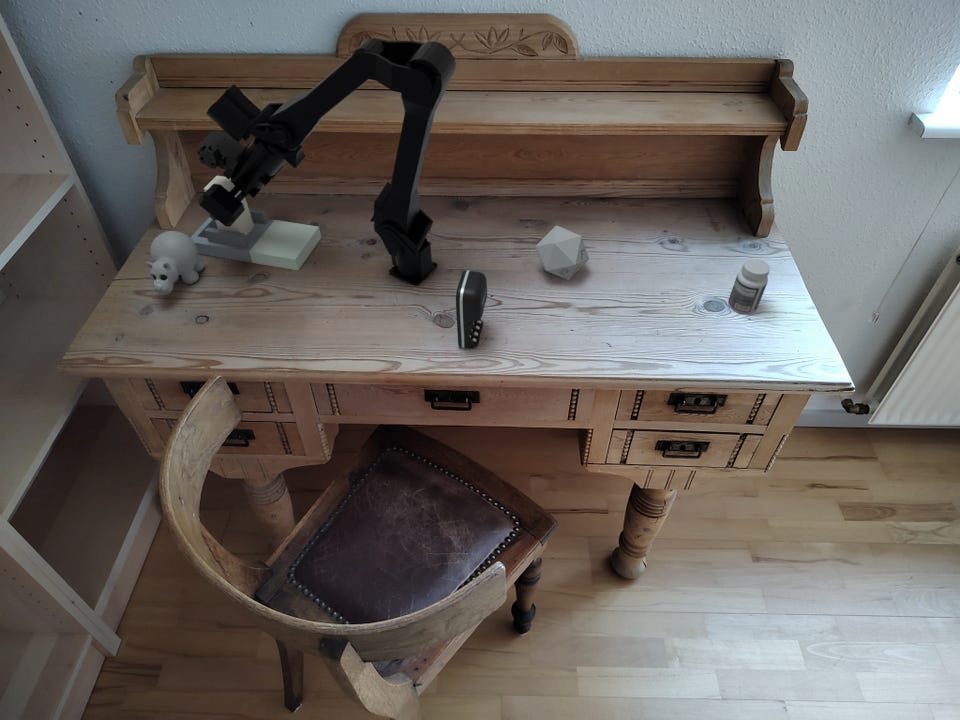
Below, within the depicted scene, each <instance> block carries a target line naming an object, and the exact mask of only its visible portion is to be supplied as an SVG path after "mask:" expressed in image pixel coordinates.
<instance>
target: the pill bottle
mask: <svg viewBox="0 0 960 720" xmlns="http://www.w3.org/2000/svg"><path fill="white" fill-rule="evenodd" d="M770 271H771V267H770V265H769V263H767V261H764V260H763V259H759V258H752V257H751V258H748V259H746V260H744V262H743V264H742V267H741V268H740V270H739V271H738V272H737V275H736V278H735V280H734V284H733V286H732V288H731V292H730V295H729V297H728V301H727V302H728V305H729V308H731V309H732V310H733V311H734V312H736V313H739V314H743V315H747V314H752V313H754V312H755V313H756V311H757V309H758V307H759V304H761V303H760V302H761V300H762V298H763V295H764V292H765V289H766V287H767V285H768V281H769V279H768V275H769V273H770Z"/></svg>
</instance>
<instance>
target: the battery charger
mask: <svg viewBox="0 0 960 720" xmlns="http://www.w3.org/2000/svg"><path fill="white" fill-rule="evenodd" d="M460 276H461V277H460V279H459V282H458V285H457V289H456V294H455V313H456V314H455V315H456V328H457V329H456V330H457V345H458V348H462V349H474V348H477V347H478V346H479V343H480V339H481V335H482V332H483V328H484V320H482V317H483V313H484V310H485V306H486V303H487V299H488V282H487V277H486V275H485V274H484V273H483V272H481V271H474V270H470V269H466V270H463V271H462V273H461V275H460Z"/></svg>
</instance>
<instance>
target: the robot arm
mask: <svg viewBox="0 0 960 720" xmlns="http://www.w3.org/2000/svg"><path fill="white" fill-rule="evenodd" d="M456 62H457V61H456V58H455V57H454V55H453V54H452V51H451V50H450V49H449V48H448V47H447V46H446V45H444V44H442V43H441V42H439V41H438V42H437V41H427V42H420V41H415V40H387V39H382V38H378V37H377V38H375V37H371V38H370V37H369V38H367V39H365V40H364V41H362V43H361V44H360V45H359V46H358V47H357V48H356V49H355V51H354V52H353V53H352V54H351V55H349V56H348V58H346V59H345V60H343V62H342V63H340V64H339V65H338V66H337V67H336V68H335V69H333V71H331V72H330V73H329V74H328V75H327V76H326V77H324V78H323V79H322V80H321V81H320V82H319V83H317V84H316V85H315V86H314V87H313V88H309V90H306V91H303V92H300V93H297V94H296V95H294V96H292V97H290V98H289V99H287V100H285V102H269V103H268V104H266V105H265V106H264V107H263V108H262V110H261V109H260V108H259V107H258V106H257V105H255V104H254V102H252V101H251V100H250V99H249V98H248V97H247V96H246V95H245V94H244V93H243V92H242V90H241V89H240V88H238V86H237V85H235V84H234V83H233V84H231V85H230V86H228V88H227V89H226V90H225V91H224V92H223V94H222V95H221V96H220V97H219V98H217V100H216V101H215V102H214V103H213V104H212V105H210V106H209V108H208V109H207V111H206V113H205V115H206V116H207V117H209V119H210V120H212V122H214V123H215V124H216V125H217V126H219V127H220V128H221V129H222V130H223V131H224V132H225V133H224V132H223V131H220V130H212V131H211V132H210V133H209V134H208V135H207V136H206V137H205V138H203V140H202V142H201V145H200V146H199V149H197V150H196V153H197V155H198V160H199V162H200V163H201V164H202V165H205V167H207V168H210V169H212V170H215V169H217V168H220V169H223V170H224V171H223V172H222V175H223V176H224V177H226V178H227V179H230V178H231V179H230V182H231V183H233V184H234V186H235V187H234V188H233V189H232V190H231V191H230V192H229V191H227V190H226V189H225V188H224V187H223V186H222V185H219V184H213V185H212V186H211V187H210V188H209V189H208V190H207V191H206V192H205V191H204V193H203V194H202V195H201V196H200V198H199V199H198V200H197V201H198V205H199V206H200V207H201V208H203V210H205V211H206V212H207V213H208V214H209V217H210V218H212V219H213V220H214V221H216V220H218V221H220V222H221V223H222V224H223V225H224V226H226V227H230V226H231V225H232V224H233V223H234V222H235V221H236V220H237V218H238V217H239V216H240V215H241V214H242V213H243V212H244V210H245V209H244V206H243V203H242V202H241V201H242V200H243V199H244V198H246V196H248V195H249V196H250V197H252V198H255V197H256V196H257V195H258V193H259V192H261V190H263V188H265V187H266V186H267V184H269V183H270V182H271V180H272V179H274V178H275V176H276V175H278V173H279V172H280V171H281V170H282V168H283V167H284V164H285V163H286V162H287V163H288V164H289V165H290V166H291V167H292V168H294V169H297V168H298V167H299V166H300V165H301V163H302V162H303V161H304V160H305V159H306V154H305V151H304V150H303V145H302V143H304V142H305V140H306V139H307V138H308V137H309V136H310V135H311V133H313V131H315V129H316V128H317V126H318V125H319V124H320V122H322V120H323V118H324V117H325V115H326V114H328V113H329V112H330V111H331V110H333V108H335V107H336V106H337V105H338V104H340V103H341V102H342V101H344V99H347V97H348V96H349V95H351V94H352V93H353V92H354V91H355V90H357V89H358V88H359V87H361V86H362V85H363V84H364V83H366V81H368V80H372V81H375V82H378V83H379V84H380V85H383V86H384V87H385V88H387V89H389V90H390V91H392V92H396V93H400V98H401V101H402V106H403V109H404V113H403V114H404V115H403V121H402V124H401V125H402V126H401V130H400V134H399V135H400V137H399V141H398V146H397V150H396V156H395V160H394V166H393V172H392V174H391V175H392V176H391V180H390V182H388V181H387V182H386V183H385V185H384V186H383V188H382V189H381V190H380V192H379V194H378V195H377V197H376V198H375V200H374V202H373V215H372V217H371V218H370V219H369V220H370V222H371V223H372V222H373V230H374V233H376V234H377V235H378V237H379V238H380V239H381V240H380V241H382V243H383V245H384V247H385V249H386V251H387V252H388V254H389V255H390V256H391V263H392V267H391V268H390V269H389V270H388V274H389V275H390V276H393V277H395V278H397V279H400V280H402V281H403V282H406V283H409V284H411V285H413V286H419V285H420V284H422V282H424V281H425V280H426V279H427V278H428V277H429V276H430V275H431V274H432V273H433V272H434V271H435V270H437V269H438V268H439V264H438V263H436V262H434V261H432V259H433V258H432V248H431V245H432V244H431V242H429V241H428V239H427V237H428V234H429V233H430V232H431V229H432V228H433V224H434V220H433V219H431V218H430V217H429V215H428V214H426V212H424V211H423V210H422V209H421V208H420V203H421V202H420V201H421V197H420V195H419V191H418V186H419V181H420V177H421V172H422V168H423V164H424V160H425V156H426V151H427V147H428V144H429V143H428V142H429V139H430V135H431V130H432V126H433V122H434V119H435V118H434V117H435V114H436V110H437V109H438V107H439V105H440V103H441V101H442V99H443V97H444V95H445V93H446V91H447V89H448V87H449V85H450V83H451V80H452V78H453V76H454V74H455V71H456V65H457V63H456ZM252 136H253V137H254V139H253V140H252V141H251V142H249V143H248V144H247V145H246V146H245V145H244V144H242V143H240V142H241V140H244V141H245V142H247V141H248V140H249V138H251V137H252ZM239 191H241V192H240V193H239V195H238V196H237V197H235V195H236V194H237V193H238V192H239Z"/></svg>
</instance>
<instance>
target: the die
mask: <svg viewBox="0 0 960 720" xmlns="http://www.w3.org/2000/svg"><path fill="white" fill-rule="evenodd" d="M534 248H535V250H536V252H537V254H538V258H539V261H540V263H541V265H542V268H543V269H544V270H545V271H546V272H548V273H551V274H553V275H555V276H557V277H560V278H562V279H564V280H567V281H569V280H570V279H571V278H572V277H573V276H574V274H576V272H578V271H579V270H580V269H581V268H583V266H584V265H585V264H586V263H587V262H588V261H589V260H590V257H589V255H588V251H587V249H586V246H585V243H584V240H583V237H582V235H580V234H577V233H576V232H573V231H571V230H568V229H566V228H564V227H561V226H558V225H555V226H554V227H553V228H552V229H551V230H550V231H549V232H548V233H547V234H546V235H545V236H544V237H543V238H542V239H541V240H540V241H539V242H538V243H537V244H536V245H535V246H534Z"/></svg>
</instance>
